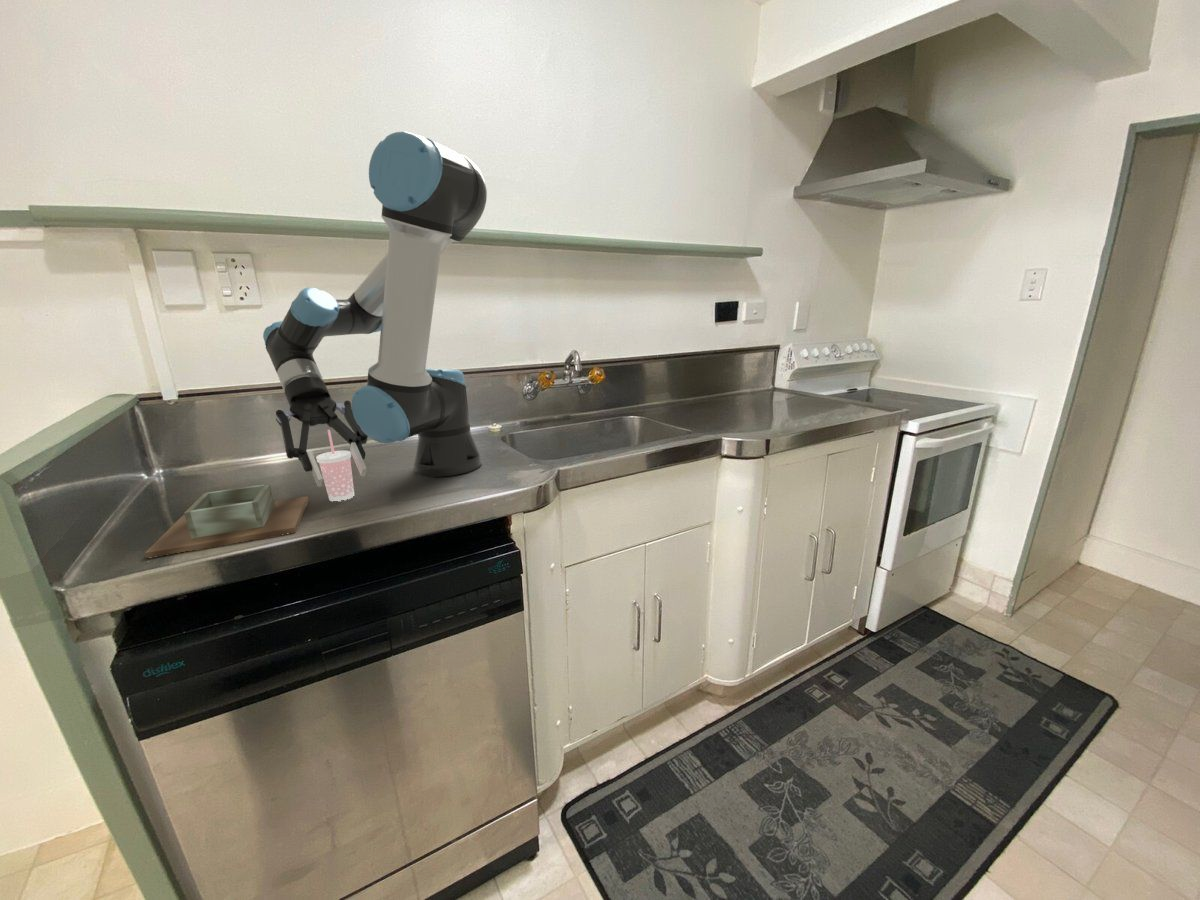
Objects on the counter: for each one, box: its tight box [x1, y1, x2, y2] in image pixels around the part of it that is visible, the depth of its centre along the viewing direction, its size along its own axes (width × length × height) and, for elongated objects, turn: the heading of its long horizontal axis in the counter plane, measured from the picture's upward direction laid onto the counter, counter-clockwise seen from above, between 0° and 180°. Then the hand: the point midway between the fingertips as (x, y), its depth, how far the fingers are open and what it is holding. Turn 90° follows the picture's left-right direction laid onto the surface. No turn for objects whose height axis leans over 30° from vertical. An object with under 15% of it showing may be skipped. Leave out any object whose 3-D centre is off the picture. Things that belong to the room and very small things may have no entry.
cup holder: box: [144, 483, 309, 558], centre depth 85 cm, size 20×16×6 cm
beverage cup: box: [315, 429, 355, 502], centre depth 96 cm, size 6×6×14 cm
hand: (342, 477), depth 94 cm, fingers open, 7 cm apart
